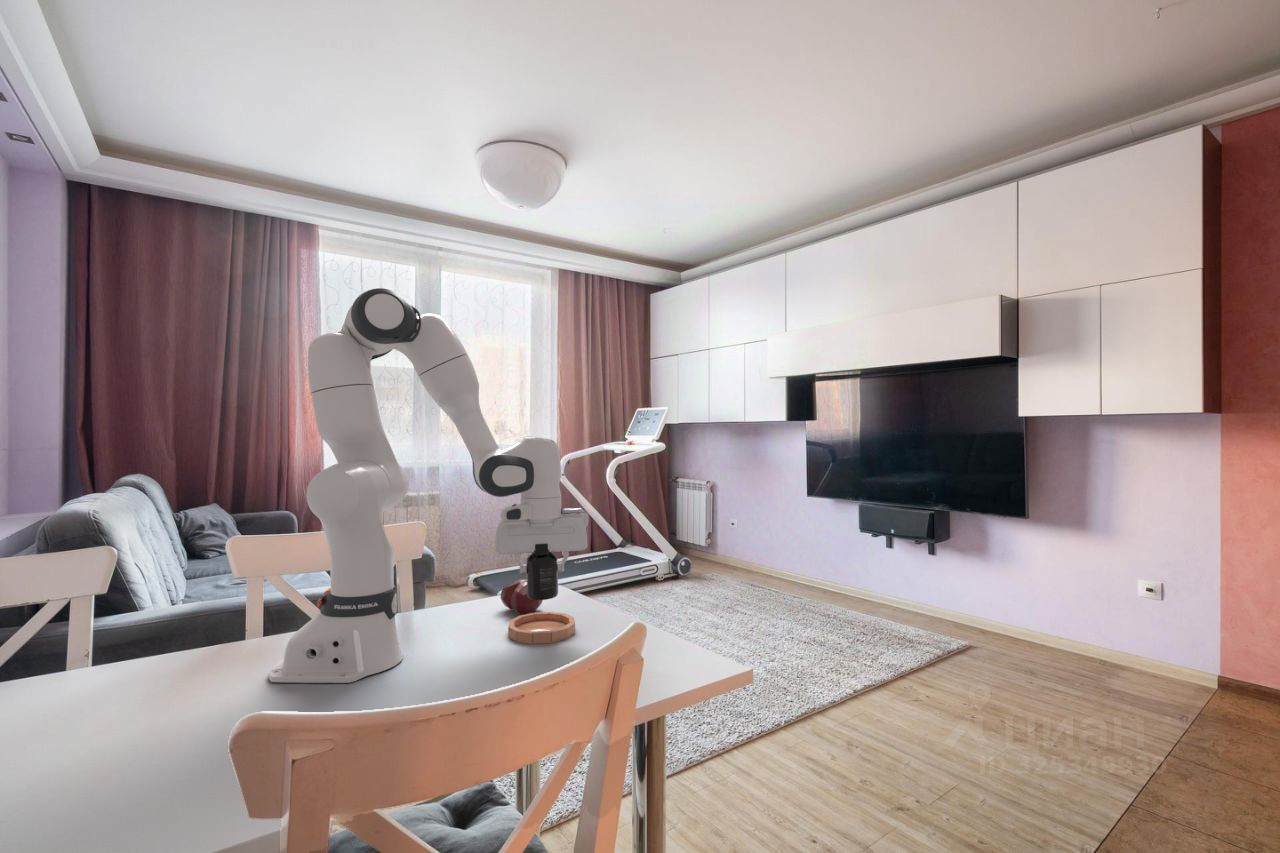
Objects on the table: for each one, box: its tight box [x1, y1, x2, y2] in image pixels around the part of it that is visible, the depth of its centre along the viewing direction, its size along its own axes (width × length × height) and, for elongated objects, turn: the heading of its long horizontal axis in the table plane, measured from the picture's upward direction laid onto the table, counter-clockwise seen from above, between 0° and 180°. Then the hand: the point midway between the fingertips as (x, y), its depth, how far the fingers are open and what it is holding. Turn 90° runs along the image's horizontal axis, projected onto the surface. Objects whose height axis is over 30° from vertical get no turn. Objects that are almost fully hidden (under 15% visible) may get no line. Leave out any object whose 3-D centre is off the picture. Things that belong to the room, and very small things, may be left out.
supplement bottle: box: [525, 544, 559, 601], centre depth 133 cm, size 7×7×12 cm
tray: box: [507, 611, 576, 645], centre depth 133 cm, size 14×14×2 cm
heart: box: [500, 578, 544, 616], centre depth 149 cm, size 12×8×10 cm
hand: (542, 572), depth 133 cm, fingers closed on supplement bottle, 7 cm apart
